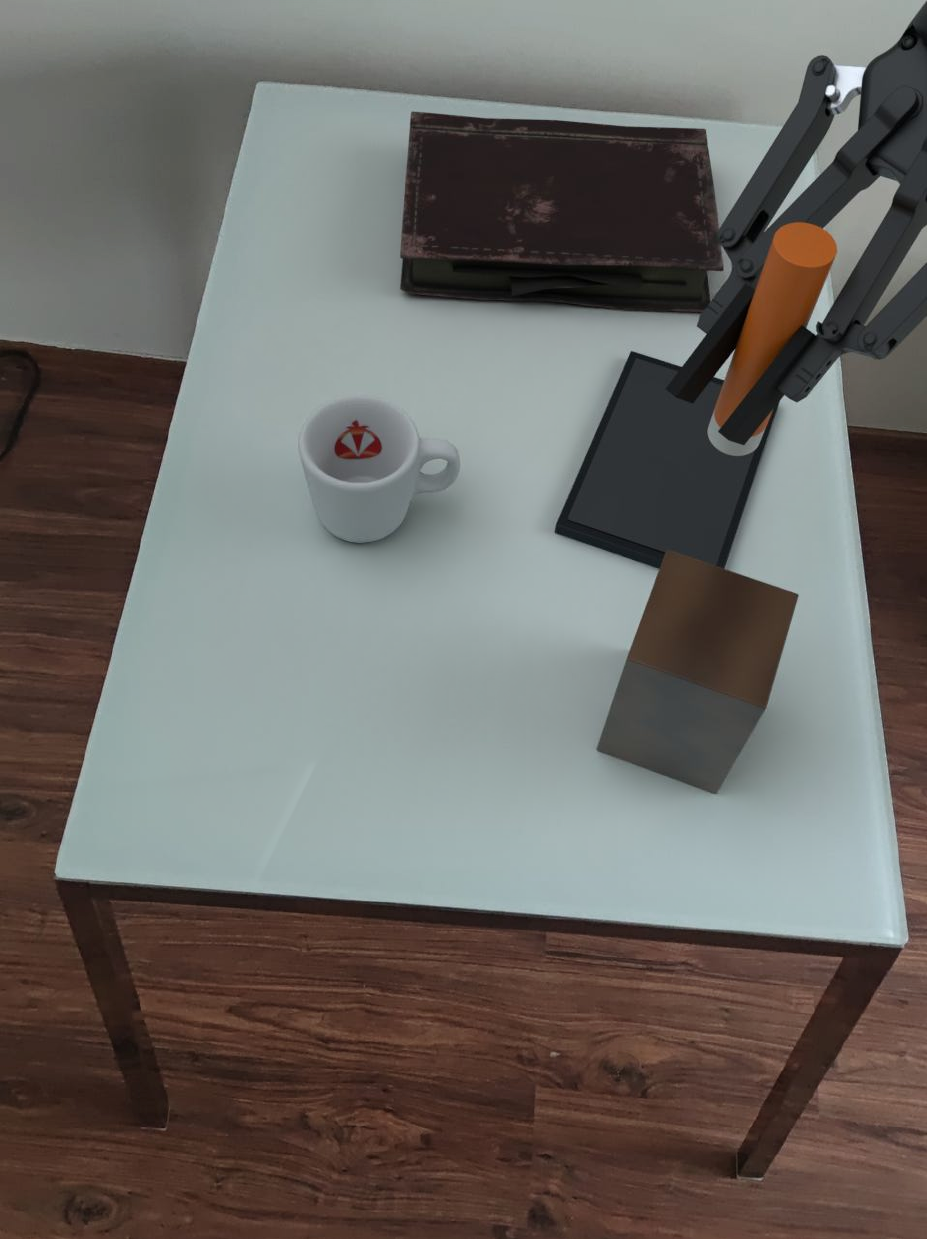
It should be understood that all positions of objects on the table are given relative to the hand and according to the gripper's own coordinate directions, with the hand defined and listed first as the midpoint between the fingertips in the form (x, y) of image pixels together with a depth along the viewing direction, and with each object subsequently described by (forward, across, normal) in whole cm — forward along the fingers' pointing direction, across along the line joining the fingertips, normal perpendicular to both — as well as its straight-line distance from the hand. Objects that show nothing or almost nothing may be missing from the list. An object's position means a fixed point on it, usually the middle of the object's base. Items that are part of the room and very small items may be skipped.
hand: (705, 416), depth 64 cm
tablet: (+7, +8, -24) cm, 26 cm away
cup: (+21, +18, -11) cm, 30 cm away
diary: (0, +31, -32) cm, 45 cm away
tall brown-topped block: (+18, -6, -13) cm, 23 cm away
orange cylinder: (0, 0, -6) cm, 6 cm away
